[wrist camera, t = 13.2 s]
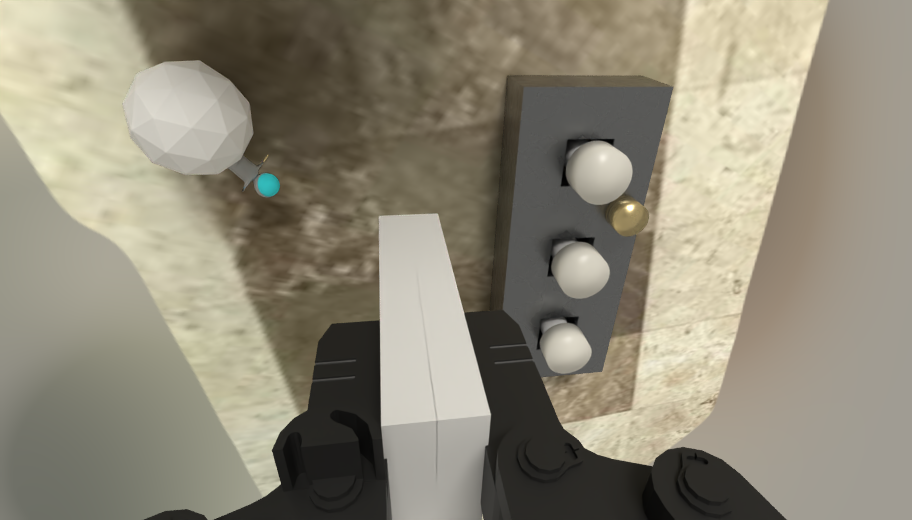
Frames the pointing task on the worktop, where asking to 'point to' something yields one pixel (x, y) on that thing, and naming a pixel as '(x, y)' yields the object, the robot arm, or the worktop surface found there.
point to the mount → (567, 197)
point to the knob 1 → (563, 345)
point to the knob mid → (578, 268)
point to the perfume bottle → (193, 122)
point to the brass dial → (627, 215)
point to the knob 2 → (597, 170)
